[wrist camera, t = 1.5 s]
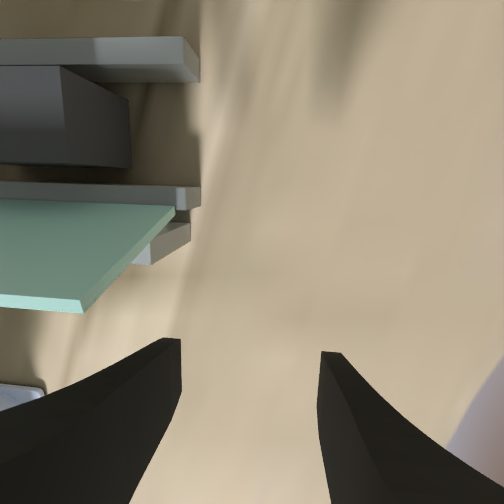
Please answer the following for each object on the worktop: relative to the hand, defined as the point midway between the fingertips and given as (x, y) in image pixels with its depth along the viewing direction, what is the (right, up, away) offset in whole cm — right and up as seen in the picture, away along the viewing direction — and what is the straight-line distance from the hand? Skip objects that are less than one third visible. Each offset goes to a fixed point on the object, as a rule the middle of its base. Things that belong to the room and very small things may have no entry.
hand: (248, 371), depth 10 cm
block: (-11, +12, +10) cm, 19 cm away
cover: (-10, +5, +3) cm, 12 cm away
